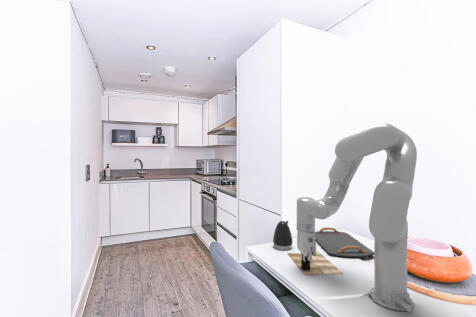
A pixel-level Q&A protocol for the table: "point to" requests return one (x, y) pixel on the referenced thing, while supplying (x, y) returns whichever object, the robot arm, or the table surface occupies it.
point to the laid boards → (325, 265)
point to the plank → (297, 260)
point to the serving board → (341, 244)
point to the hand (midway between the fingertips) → (305, 269)
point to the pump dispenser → (282, 236)
